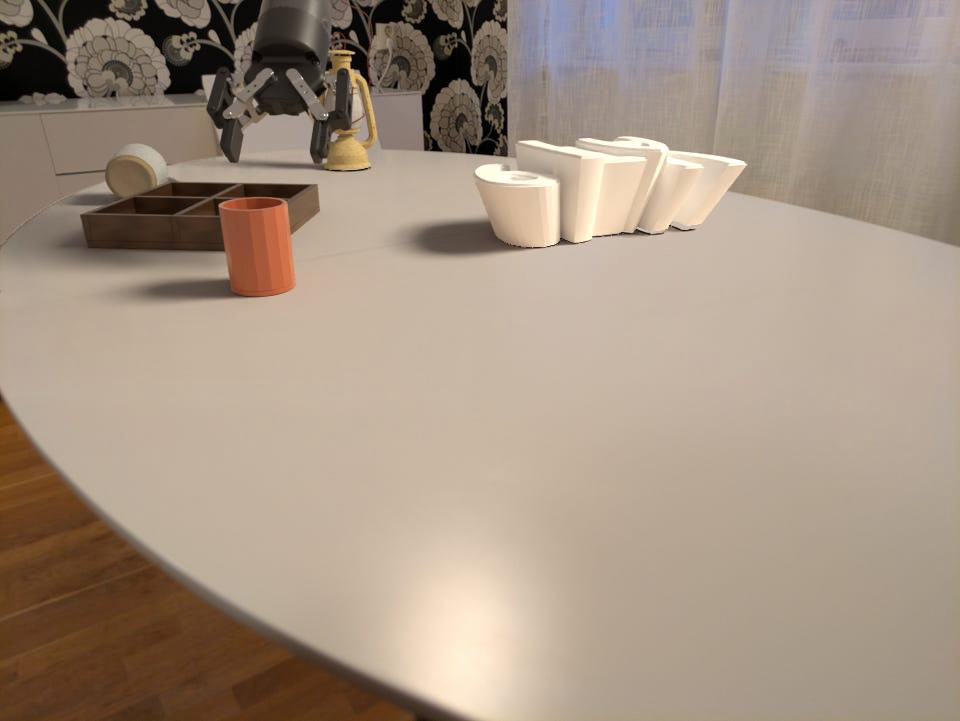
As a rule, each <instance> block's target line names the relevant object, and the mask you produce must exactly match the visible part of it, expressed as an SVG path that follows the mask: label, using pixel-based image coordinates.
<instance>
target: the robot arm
mask: <svg viewBox="0 0 960 721" xmlns="http://www.w3.org/2000/svg"><path fill="white" fill-rule="evenodd" d="M333 6H334V0H262V2H261V6H260V10H259V14H258V16H257V24H256V25H257V26H256V31H255V35H254V41H253V46H252V51H251V61H250V66H249V68H248V69H246V71H245V72H244V73H234V72H230V69H229V68H228V67H227V66H220V67H219V68H218V69H217V71H216V74H215V77H214V81H213V84H212V87H211V90H210V94H209V97H208V101H207V104H206V108H205V110H206V113H207V114H208V116H209V117H210V119H211V120H212V122H213V124H214V126H215V128H216V129H218V130H222V131H221V135H220V140H219V147H220V150H221V153H223V155H224V157H225V158H227V160H228V162H229V163H230V164H238V163H239V162H240V156H241V152H242V146H243V143H244V142H243V141H244V137H245V136H244V133H243V132H244V131H245V130H247V129H248V127H250V126H251V125H252V124H253V123H254V124H259V122H260V121H261V120H263V119H264V118H265V117H266V116H267V115H269V116H270V117H271V116H272V117H274V116H282V115H287V116H291V117H299V116H300V114H302V113H305V114H306V116H307V117H308V118H309V119H310V121H311V122H312V123H313V124H312V132H311V138H310V145H309V154H310V158H311V160H312V162H313V164H314V165H322V164H323V160H324V159H325V160H327V157H328V155H329V149H330V143H331V142H332V135H333V134H334V131H336V130H338V129H341V130H343V131H348V130H349V129H351V127H352V108H353V85H352V81H351V78H350V74H349V71H348V69H346V68H340V69H339V70H338V71H337V75H325V74H326V69H327V62H328V56H329V54H328V51H330V49H329V48H330V42H331V35H332V27H333ZM327 89H331V90H332V93H333V95H334V96H336V99H335V110H334V111H331V112H327V111H326V110H325V108H324V107H323V106H322V104H321V103H320V102H319V100H318V99H319V98H320V97H321V96H322V95H323V94H324V93H325V94H326V92H327V91H328V90H327ZM235 98H236V99H235ZM253 100H254V101H255V102H256V103H257V105H256V106H254V104H253Z"/></svg>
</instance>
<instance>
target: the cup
mask: <svg viewBox="0 0 960 721" xmlns="http://www.w3.org/2000/svg"><path fill="white" fill-rule="evenodd" d="M218 206H219V213H220V220H221V226H222V233H223V240H224V246H225V250H224V252H225V258H226V266H227V272H228V278H229V286H230V290H231V292H232V293H234V294H235V295H239V296H245V297H268V296H269V297H270V296H276V295H280V294H283V293H286V292H290V291H291V290H293V289H294V288H295V287H296V283H297V282H296V280H297V279H296V271H295V262H294V253H293V252H294V251H293V244H292V242H293V241H292V235H291V233H290V224H289V215H288V206H287V202H286V200H283V199H279V198H271V197H251V198H240V199H233V200H229V201H225V202H222V203H220V204H219V205H218Z"/></svg>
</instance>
